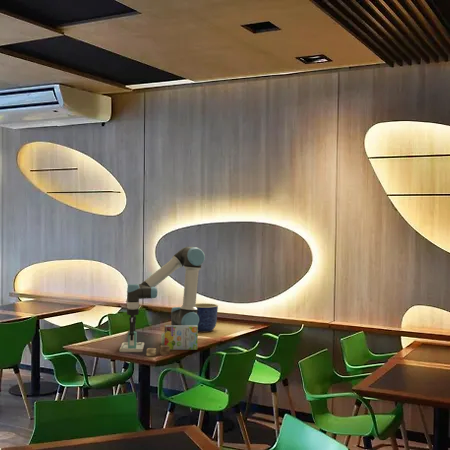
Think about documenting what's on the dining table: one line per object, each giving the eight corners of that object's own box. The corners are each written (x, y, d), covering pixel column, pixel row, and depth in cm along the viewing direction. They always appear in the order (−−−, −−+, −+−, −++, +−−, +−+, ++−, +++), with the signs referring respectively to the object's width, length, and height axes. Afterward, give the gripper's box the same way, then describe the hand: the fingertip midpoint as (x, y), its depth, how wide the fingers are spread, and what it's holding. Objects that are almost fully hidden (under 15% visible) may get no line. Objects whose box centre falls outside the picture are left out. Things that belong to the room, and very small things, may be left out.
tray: (144, 345, 402) (144, 342, 402) (142, 352, 382) (142, 348, 382) (122, 345, 401) (122, 342, 401) (119, 352, 381) (119, 348, 381)
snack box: (197, 348, 397) (197, 325, 397) (197, 350, 391) (197, 326, 391) (164, 347, 396) (165, 324, 396) (164, 349, 391) (164, 326, 390)
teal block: (136, 346, 394) (136, 331, 394) (135, 348, 389) (136, 332, 389) (128, 346, 394) (128, 331, 394) (127, 348, 389) (128, 332, 389)
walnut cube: (167, 353, 381) (167, 345, 381) (169, 354, 377) (169, 346, 377) (159, 353, 380) (159, 345, 380) (161, 355, 375) (161, 347, 375)
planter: (221, 332, 454) (222, 306, 454) (195, 333, 446) (195, 307, 446) (211, 327, 473) (212, 302, 473) (186, 328, 466) (186, 303, 465)
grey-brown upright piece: (170, 343, 410) (170, 333, 410) (170, 345, 404) (170, 334, 404) (161, 343, 410) (161, 333, 410) (161, 345, 404) (161, 334, 404)
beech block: (156, 354, 376) (156, 348, 376) (154, 356, 372) (154, 349, 372) (148, 354, 377) (148, 347, 377) (146, 355, 373) (146, 349, 373)
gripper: (128, 306, 402) (127, 340, 402) (125, 310, 381) (124, 347, 381) (139, 306, 402) (139, 340, 402) (137, 310, 381) (137, 347, 381)
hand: (132, 343), depth 392 cm, fingers open, 8 cm apart
